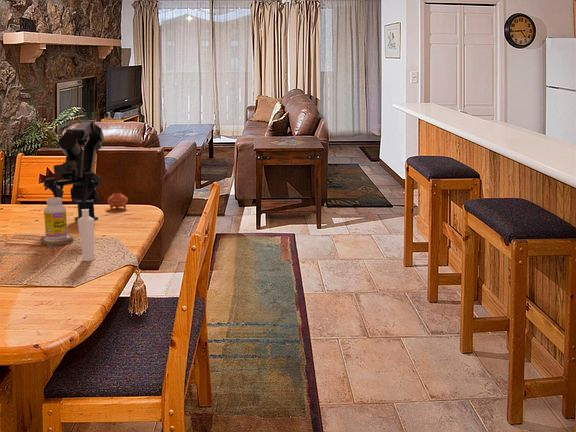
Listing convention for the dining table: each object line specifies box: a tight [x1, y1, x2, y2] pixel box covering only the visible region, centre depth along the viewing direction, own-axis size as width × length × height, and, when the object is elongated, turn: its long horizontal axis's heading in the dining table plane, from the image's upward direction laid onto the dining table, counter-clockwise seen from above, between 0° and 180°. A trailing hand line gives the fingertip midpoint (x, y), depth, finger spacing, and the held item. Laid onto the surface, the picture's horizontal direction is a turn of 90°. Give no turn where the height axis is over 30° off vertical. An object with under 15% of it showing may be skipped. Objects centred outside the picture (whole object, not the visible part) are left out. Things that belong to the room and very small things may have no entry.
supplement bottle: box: [43, 196, 68, 240], centre depth 206 cm, size 7×7×13 cm
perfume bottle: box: [77, 209, 96, 262], centre depth 188 cm, size 5×4×15 cm
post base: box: [39, 234, 74, 249], centre depth 207 cm, size 13×10×1 cm
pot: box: [107, 192, 129, 210], centre depth 255 cm, size 8×8×7 cm
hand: (70, 205), depth 215 cm, fingers open, 9 cm apart
